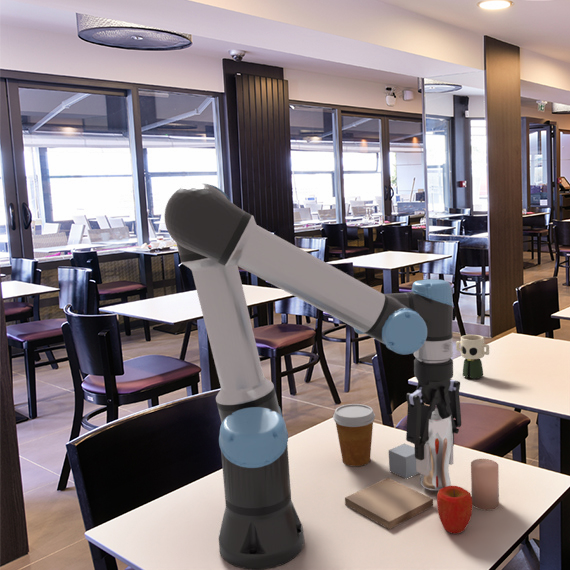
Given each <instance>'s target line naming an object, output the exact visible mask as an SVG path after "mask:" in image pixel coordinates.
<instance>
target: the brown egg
mask: <svg viewBox="0 0 570 570" xmlns="http://www.w3.org/2000/svg"><path fill="white" fill-rule="evenodd" d="M499 473H500V472H499V463H498V462H497V461H495V460H494V459H493V460H492V459H489V458H477V459H474V460H472V461H471V462H470V480H471V481H470V482H471V484H470V485H471V489H470V490H471V493H470V494H471V497H472V507H475V508H477V510H478V509H479V510H482V511H493V510H496V509H498V508H499V506H500V494H499V493H500V492H499V491H500V488H499V485H500V482H499V481H500V480H499V479H500V478H499V477H500V476H499Z"/></svg>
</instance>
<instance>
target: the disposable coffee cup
mask: <svg viewBox="0 0 570 570" xmlns="http://www.w3.org/2000/svg"><path fill="white" fill-rule="evenodd" d="M332 418H333V420H334V422H335V425H336V432H337V439H338V442H339V448H340V454H341V458H342V459H341V460H342V463H343V464H345V465H347V466H349V467H362V466H365V464H366V465H368V464H369V463H370V462H371V450H372V441H373V439H372V438H373V430H374V429H373V428H374V422H375V419H376V414H375V413H374V409H373V408H372V407H371V406H369V405H368V404H367V405H366V404H360V403H350V404H343V405H340V406H338V407H336V408H335V410H334V414H333V415H332ZM369 461H370V462H369Z"/></svg>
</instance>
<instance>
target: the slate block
mask: <svg viewBox="0 0 570 570" xmlns="http://www.w3.org/2000/svg"><path fill="white" fill-rule="evenodd" d="M388 467H389V468H388V469H389V472H390V471H391V472H390V473H392V472H394V473H396V474H398V475H400V476H399V477H401V476H402V477H401V478H403V477H404V478H403V479H405V478H406V479H405V480H408V479H410V478H412V477H414V475H415V476H417V475H419V474H418V472H417V470H416V458H415V446H412V445H409V444H406V443H403V444H400V445H398V446H395V447H393V448H391V449H388ZM394 473H393V474H394ZM396 474H395V475H396ZM416 474H417V475H416ZM398 475H397V476H398ZM411 476H412V477H411ZM409 477H410V478H409ZM407 478H408V479H407Z"/></svg>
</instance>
